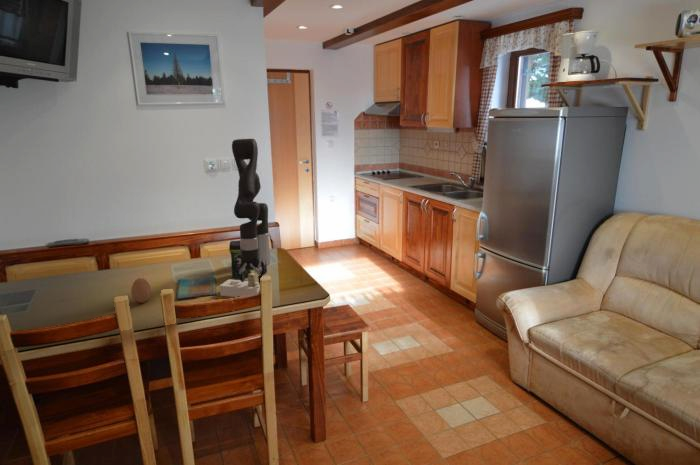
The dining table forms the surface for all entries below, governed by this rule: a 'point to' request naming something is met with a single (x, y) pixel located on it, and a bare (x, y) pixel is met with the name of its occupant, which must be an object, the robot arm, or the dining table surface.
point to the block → (237, 288)
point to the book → (196, 288)
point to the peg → (251, 280)
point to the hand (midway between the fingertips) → (251, 282)
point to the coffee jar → (236, 254)
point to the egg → (141, 290)
